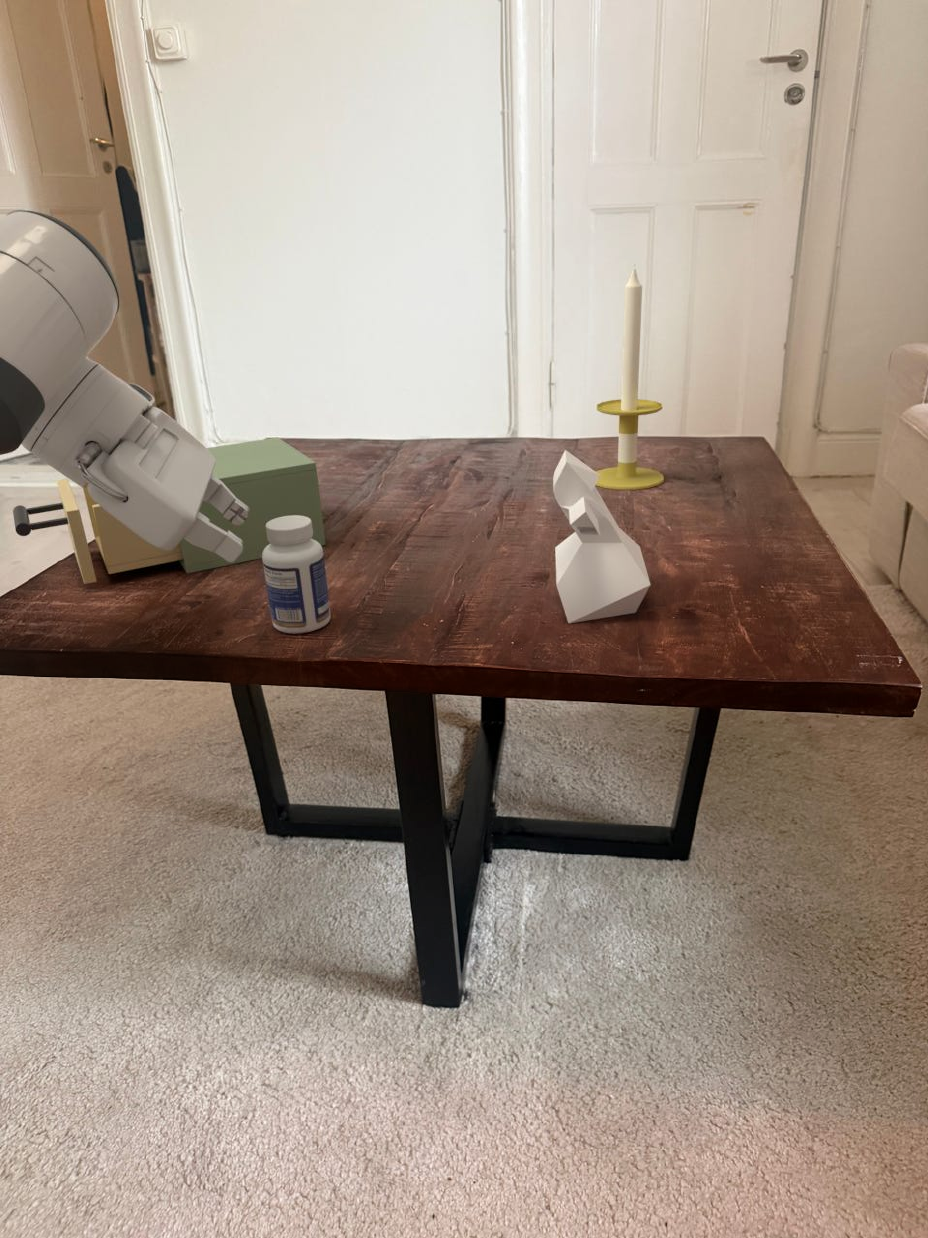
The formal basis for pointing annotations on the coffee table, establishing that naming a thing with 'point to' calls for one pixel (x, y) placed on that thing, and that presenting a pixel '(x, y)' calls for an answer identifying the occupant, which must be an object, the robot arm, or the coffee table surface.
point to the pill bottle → (295, 576)
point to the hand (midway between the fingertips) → (242, 535)
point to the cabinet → (259, 497)
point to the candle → (629, 404)
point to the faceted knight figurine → (594, 551)
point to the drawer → (96, 535)
